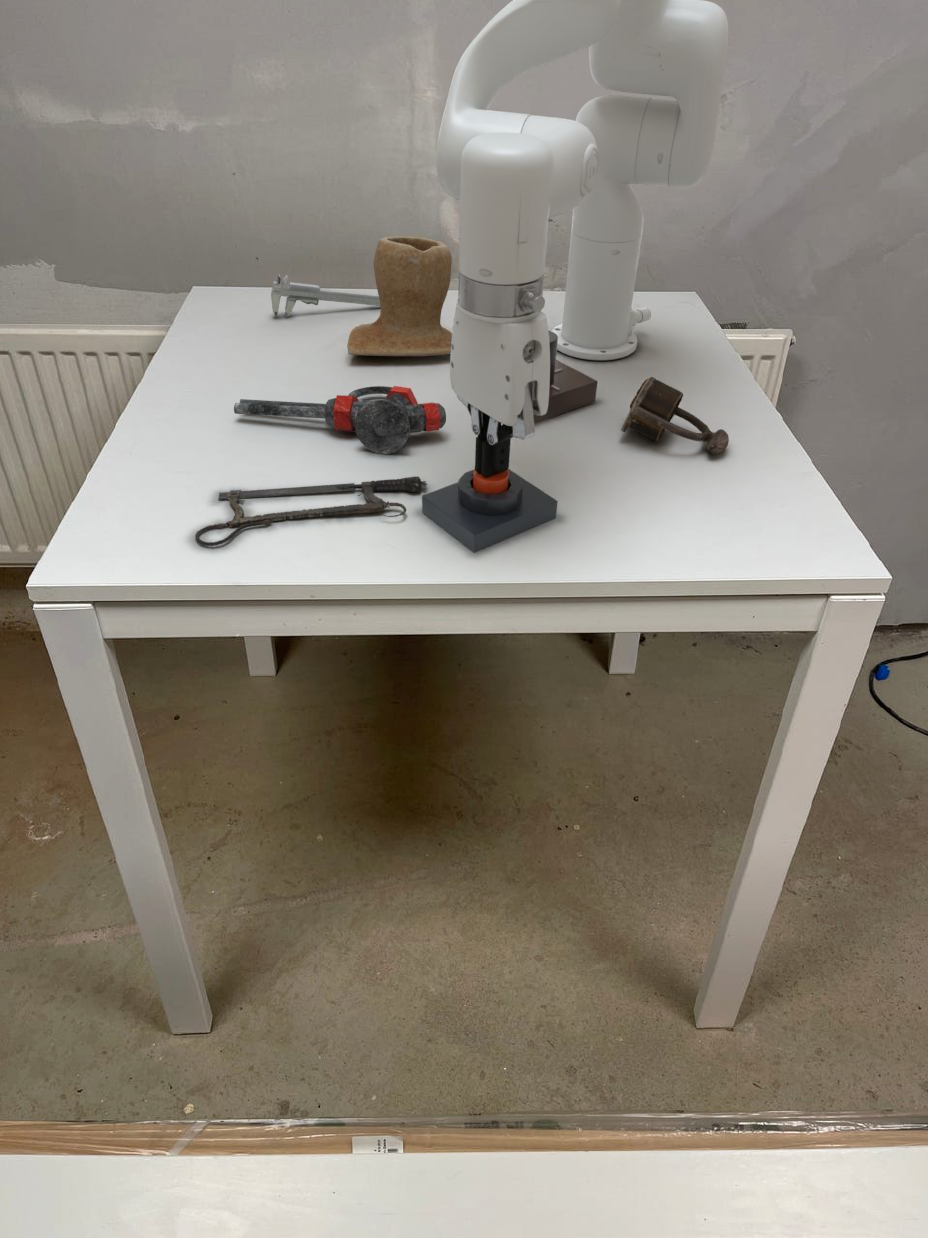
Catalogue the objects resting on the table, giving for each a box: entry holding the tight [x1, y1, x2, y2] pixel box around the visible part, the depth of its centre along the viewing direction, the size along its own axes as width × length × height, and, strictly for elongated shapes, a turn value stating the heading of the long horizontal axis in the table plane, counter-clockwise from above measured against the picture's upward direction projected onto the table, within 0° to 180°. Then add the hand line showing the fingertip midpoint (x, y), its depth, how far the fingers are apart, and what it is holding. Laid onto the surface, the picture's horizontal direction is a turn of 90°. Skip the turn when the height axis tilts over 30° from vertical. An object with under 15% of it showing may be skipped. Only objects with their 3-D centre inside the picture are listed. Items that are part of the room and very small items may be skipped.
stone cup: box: [346, 235, 453, 357], centre depth 123 cm, size 15×12×15 cm
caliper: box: [270, 273, 380, 319], centre depth 136 cm, size 20×1×6 cm, turn 109°
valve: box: [233, 385, 447, 455], centre depth 109 cm, size 6×26×15 cm
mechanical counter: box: [620, 376, 730, 455], centre depth 106 cm, size 7×13×10 cm
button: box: [473, 468, 509, 494], centre depth 92 cm, size 4×4×2 cm
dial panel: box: [534, 359, 598, 424], centre depth 115 cm, size 12×10×3 cm
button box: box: [421, 468, 558, 554], centre depth 94 cm, size 11×9×4 cm
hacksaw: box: [194, 476, 428, 547], centre depth 94 cm, size 24×10×2 cm, turn 97°
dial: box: [548, 330, 558, 383], centre depth 112 cm, size 4×4×6 cm
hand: (491, 470), depth 92 cm, fingers closed
